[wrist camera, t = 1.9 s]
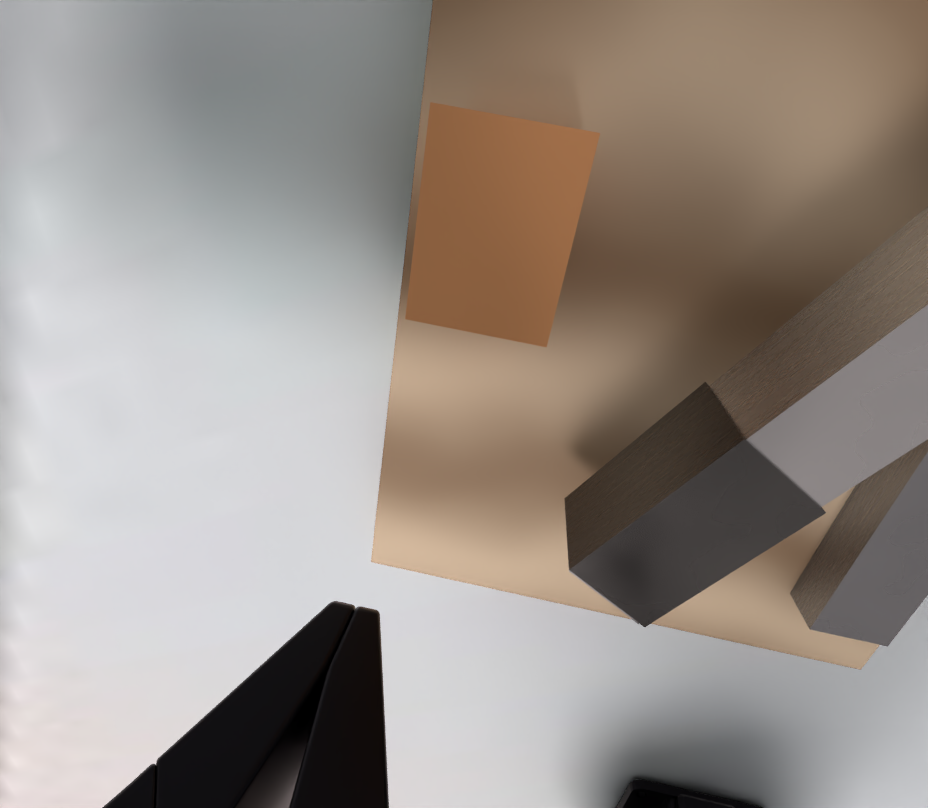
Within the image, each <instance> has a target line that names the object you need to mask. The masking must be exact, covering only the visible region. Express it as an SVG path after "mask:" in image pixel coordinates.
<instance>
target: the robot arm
mask: <svg viewBox="0 0 928 808" xmlns="http://www.w3.org/2000/svg"><path fill="white" fill-rule="evenodd" d="M103 808H389V799H388V778H387V757H386V736H385V715H384V694H383V673H382V652H381V631H380V614H379V612H378V611H377V610H374V609H369V608H365V607H357V608H356V609H355V606H354V605H352V604H347V603H343V602H338V601H334V602H331V603H330V604H328V605H327V606H326V607H325V608H324V609H323V610H322V611H321V612H320V613H318V614H317V615H316V616H315V617H314V618H313V619H312V620H311V621H310V622H309V623H307V624H306V625H305V626H304V627H303V628H302V629H301V630H300V631H299V632H297V633H296V634H295V635H294V636H293V637H292V638H291V639H290V640H289V641H288V642H286V643H285V644H284V645H283V646H282V647H281V648H280V649H279V650H278V651H276V652H275V653H274V654H273V655H272V656H271V657H270V658H269V659H268V660H267V661H265V662H264V663H263V664H262V665H261V666H260V667H259V668H258V669H257V670H255V671H254V672H253V673H252V674H251V675H250V676H249V677H248V678H247V679H246V680H244V681H243V682H242V683H241V684H240V685H239V686H238V687H237V688H236V689H234V690H233V691H232V692H231V693H230V694H229V695H228V696H227V697H226V698H225V699H223V700H222V701H221V702H220V703H219V704H218V705H217V706H216V707H215V708H213V709H212V710H211V711H210V712H209V713H208V714H207V715H206V716H205V717H204V718H202V719H201V720H200V721H199V722H198V723H197V724H196V725H195V726H194V727H192V728H191V729H190V730H189V731H188V732H187V733H186V734H185V735H184V736H183V737H181V738H180V739H179V740H178V741H177V742H176V743H175V744H174V745H173V746H171V747H170V748H169V749H168V750H167V751H166V752H165V753H164V754H163V755H162V756H160V757H159V758H158V760H157V763H156V765H155V764H151V765H150V766H149V767H148V768H147V769H146V770H145V771H144V772H142V773H141V774H140V775H139V776H138V777H137V778H136V779H135V780H134V781H133V782H131V783H130V784H129V785H128V786H127V787H126V788H125V789H124V790H122V791H121V792H120V793H119V794H118V795H117V796H116V797H114V798H113V799H112V800H111V801H110V802H109V803H107V804H106V805H105V806H104V807H103ZM616 808H762V807H758V806H754V805H749V804H745V803H741V802H737V801H732V800H728V799H724V798H719V797H715V796H711V795H706V794H702V793H698V792H694V791H689V790H685V789H681V788H676V787H672V786H668V785H664V784H659V783H655V782H651V781H646V780H640V779H638V780H633V781H631V782H630V784H629V785H628V787H627V789H626V791H625V793H624V795H623V796H622V798H621V800H620V802H619V804H618V806H617V807H616Z"/></svg>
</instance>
